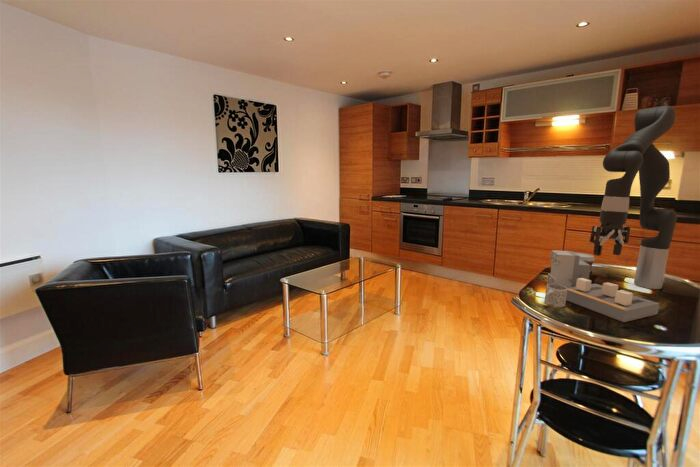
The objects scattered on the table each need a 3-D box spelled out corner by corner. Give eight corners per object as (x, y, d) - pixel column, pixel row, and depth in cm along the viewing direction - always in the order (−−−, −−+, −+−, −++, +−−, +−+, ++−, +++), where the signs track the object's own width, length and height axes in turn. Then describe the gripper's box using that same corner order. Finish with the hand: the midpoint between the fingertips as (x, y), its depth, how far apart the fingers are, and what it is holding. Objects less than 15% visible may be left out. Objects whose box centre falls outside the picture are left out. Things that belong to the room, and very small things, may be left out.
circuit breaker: (591, 292, 141) (596, 256, 138) (553, 289, 144) (557, 254, 141) (583, 286, 149) (588, 252, 146) (546, 283, 151) (551, 250, 148)
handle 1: (581, 287, 133) (582, 277, 133) (590, 290, 130) (591, 280, 129) (575, 288, 132) (577, 278, 132) (584, 291, 129) (586, 281, 128)
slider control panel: (593, 292, 140) (595, 283, 140) (657, 314, 120) (659, 303, 120) (562, 298, 134) (563, 288, 133) (623, 322, 114) (625, 310, 113)
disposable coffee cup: (594, 285, 150) (598, 258, 147) (569, 282, 153) (572, 256, 150) (587, 278, 159) (590, 253, 156) (563, 276, 161) (566, 251, 159)
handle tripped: (606, 292, 128) (608, 282, 128) (616, 295, 125) (618, 285, 125) (601, 293, 127) (603, 283, 127) (611, 296, 124) (613, 286, 123)
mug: (550, 299, 133) (552, 282, 132) (568, 305, 128) (571, 288, 127) (535, 304, 128) (537, 287, 127) (553, 310, 123) (556, 293, 122)
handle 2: (620, 300, 121) (621, 289, 120) (631, 304, 117) (633, 293, 117) (614, 301, 120) (616, 290, 119) (625, 305, 116) (627, 294, 116)
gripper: (620, 208, 126) (612, 252, 128) (588, 208, 122) (581, 253, 125) (641, 211, 119) (633, 257, 121) (608, 210, 115) (600, 258, 118)
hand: (606, 255), depth 123 cm, fingers open, 8 cm apart
